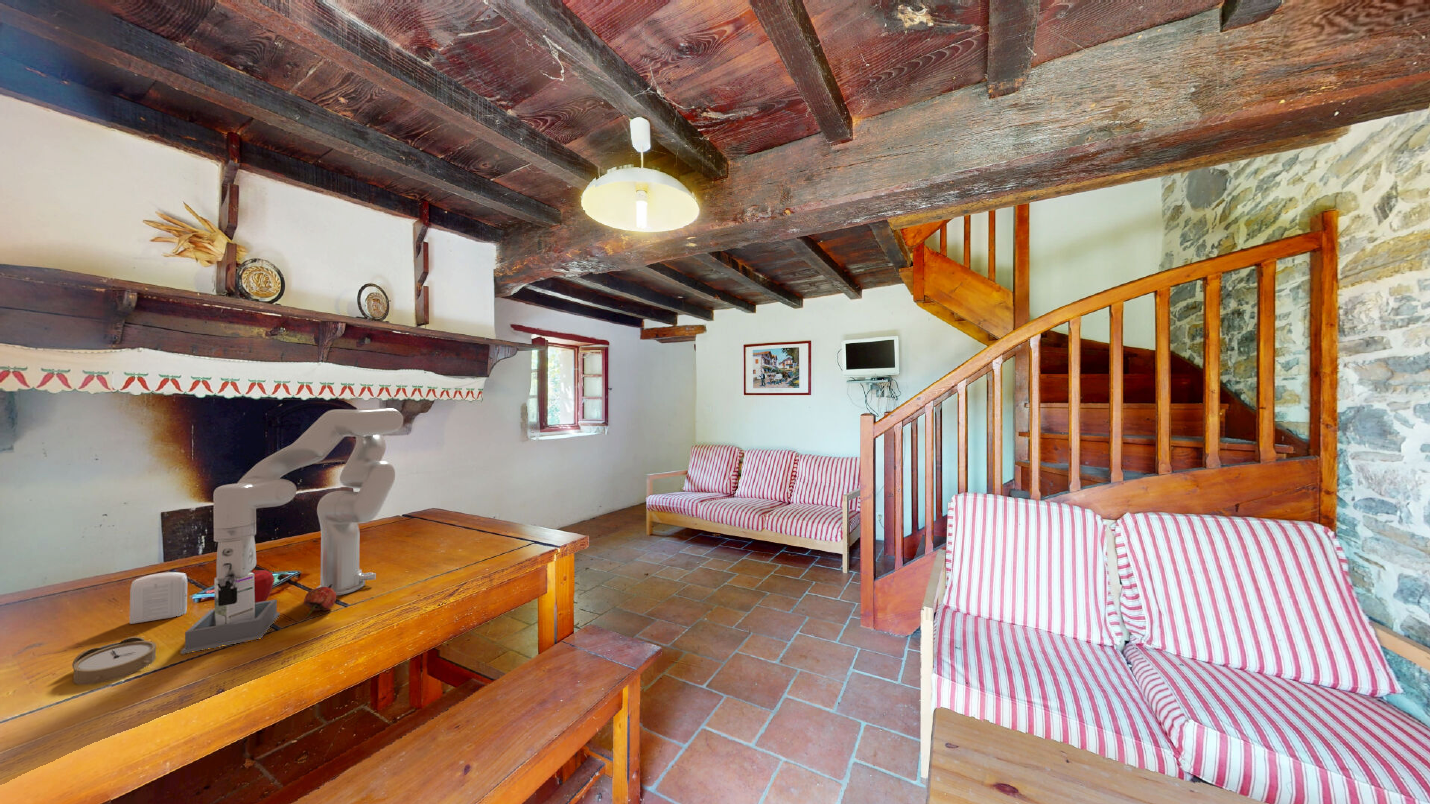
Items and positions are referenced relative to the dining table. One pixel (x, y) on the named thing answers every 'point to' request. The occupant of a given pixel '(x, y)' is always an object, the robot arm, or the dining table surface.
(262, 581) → the apple
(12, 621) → the dining table surface
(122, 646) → the alarm clock
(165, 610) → the photo printer
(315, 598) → the pomegranate
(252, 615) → the syrup box
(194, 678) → the dining table surface
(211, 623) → the grey square tray
